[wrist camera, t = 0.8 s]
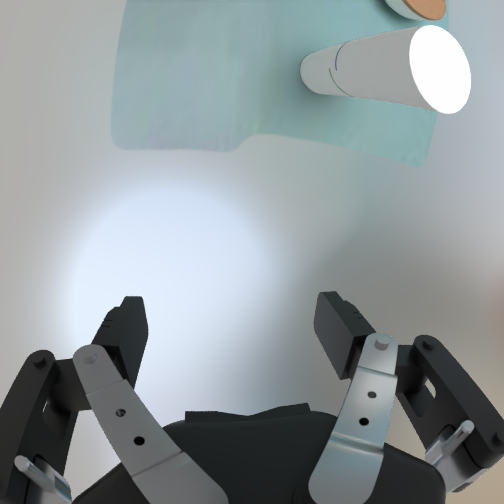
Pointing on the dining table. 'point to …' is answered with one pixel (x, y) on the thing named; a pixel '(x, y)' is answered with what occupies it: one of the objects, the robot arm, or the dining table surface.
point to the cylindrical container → (394, 69)
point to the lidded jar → (419, 8)
